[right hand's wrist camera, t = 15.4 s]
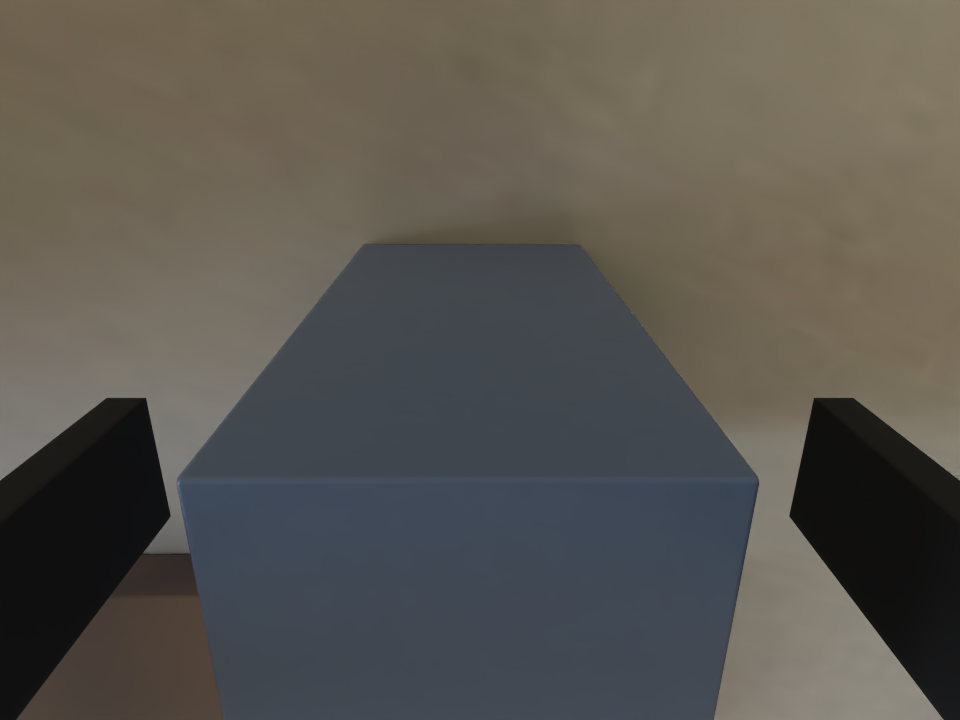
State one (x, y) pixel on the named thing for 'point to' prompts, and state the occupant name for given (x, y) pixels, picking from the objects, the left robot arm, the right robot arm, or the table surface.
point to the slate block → (468, 505)
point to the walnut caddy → (138, 654)
